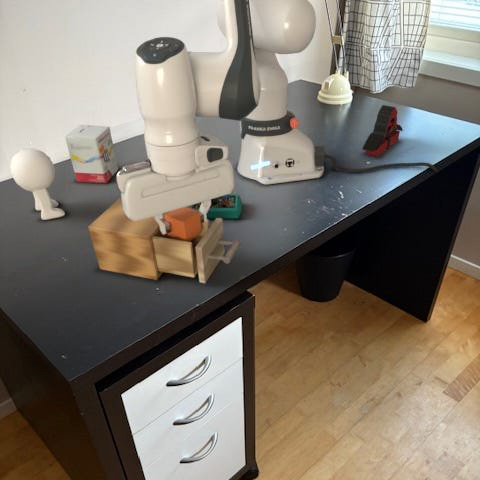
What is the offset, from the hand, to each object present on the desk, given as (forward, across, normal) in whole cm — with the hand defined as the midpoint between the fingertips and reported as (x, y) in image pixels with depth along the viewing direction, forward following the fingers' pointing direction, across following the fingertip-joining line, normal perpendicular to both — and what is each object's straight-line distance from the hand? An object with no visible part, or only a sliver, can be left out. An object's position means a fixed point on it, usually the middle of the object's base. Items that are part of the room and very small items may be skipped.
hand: (184, 226), depth 88 cm
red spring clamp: (+10, +69, +23) cm, 74 cm away
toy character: (+9, -20, +37) cm, 43 cm away
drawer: (+8, +1, -2) cm, 8 cm away
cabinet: (+9, -7, +8) cm, 14 cm away
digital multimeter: (+9, +13, +17) cm, 23 cm away
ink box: (+9, -4, +50) cm, 51 cm away
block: (+2, 0, 0) cm, 2 cm away
